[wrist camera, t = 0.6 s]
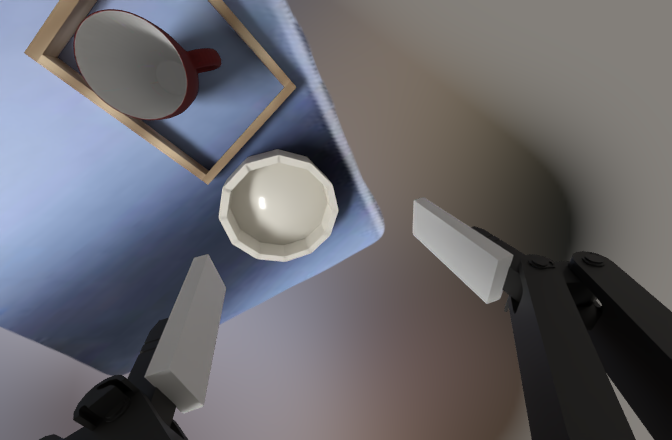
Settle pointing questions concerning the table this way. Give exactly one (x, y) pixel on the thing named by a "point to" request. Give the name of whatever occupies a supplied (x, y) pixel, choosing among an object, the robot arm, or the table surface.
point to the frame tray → (46, 51)
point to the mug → (138, 65)
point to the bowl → (278, 206)
